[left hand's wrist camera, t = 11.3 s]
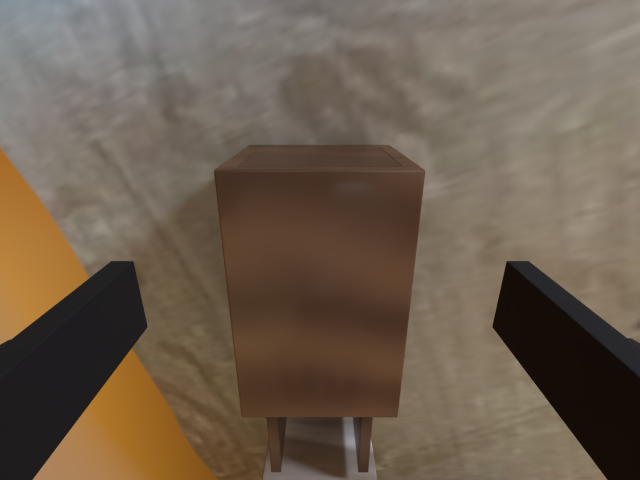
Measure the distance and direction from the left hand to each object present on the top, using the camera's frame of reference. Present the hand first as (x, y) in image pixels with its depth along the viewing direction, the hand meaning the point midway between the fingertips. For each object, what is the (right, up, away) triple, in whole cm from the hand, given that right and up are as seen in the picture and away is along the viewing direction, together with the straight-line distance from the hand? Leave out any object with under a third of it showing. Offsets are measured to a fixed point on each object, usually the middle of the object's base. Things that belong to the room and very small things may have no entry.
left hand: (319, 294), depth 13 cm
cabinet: (0, +1, +17) cm, 17 cm away
